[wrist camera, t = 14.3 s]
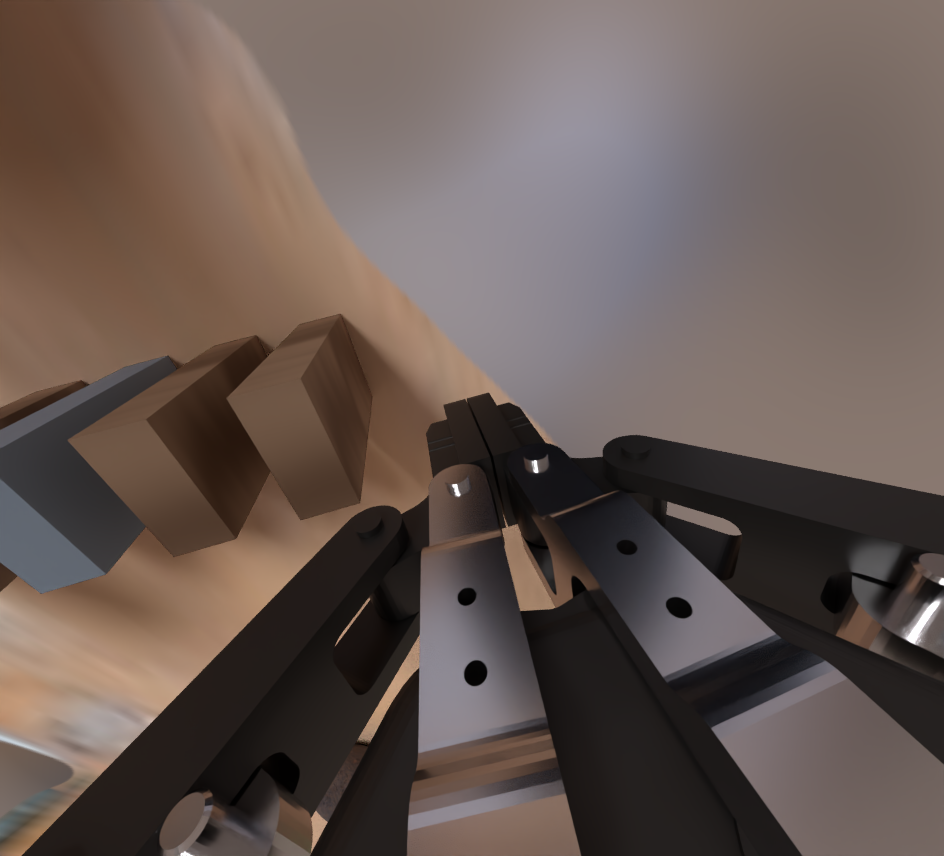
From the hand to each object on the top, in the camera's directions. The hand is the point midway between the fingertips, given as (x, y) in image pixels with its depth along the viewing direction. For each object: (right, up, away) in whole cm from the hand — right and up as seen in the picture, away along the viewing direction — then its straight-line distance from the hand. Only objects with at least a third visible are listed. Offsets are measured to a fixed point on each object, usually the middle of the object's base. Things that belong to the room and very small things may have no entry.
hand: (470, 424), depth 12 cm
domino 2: (-12, +2, +9) cm, 15 cm away
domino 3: (-8, +4, +9) cm, 12 cm away
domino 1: (-16, +1, +8) cm, 18 cm away
